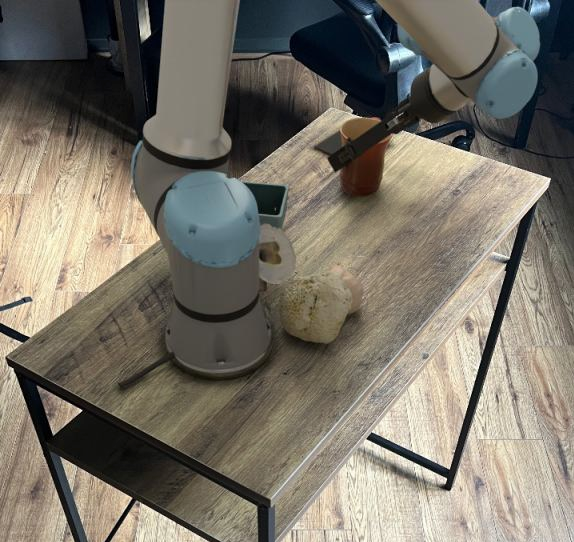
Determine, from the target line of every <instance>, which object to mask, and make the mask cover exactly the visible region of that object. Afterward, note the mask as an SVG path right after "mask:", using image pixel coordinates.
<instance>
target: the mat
mask: <svg viewBox="0 0 574 542" xmlns="http://www.w3.org/2000/svg"><path fill="white" fill-rule="evenodd" d="M389 146H390V143H389V144H388V147H389ZM313 148H314V149H316V150H318V151H320V152H322V153H324V154H326V155H329V156H330V155H332V154H333V153H335V152H336V151H338V150H339V149H340V148H342V139H341V134H340V129H339V130H338V131H336V132H335V133H333V134H332V135H330V136H328V137H327V138H325V139H323V140H322V141H320V142H319V143H318V144H316V145H315V146H313Z"/></svg>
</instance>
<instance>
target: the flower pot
mask: <svg viewBox="0 0 574 542" xmlns="http://www.w3.org/2000/svg"><path fill="white" fill-rule="evenodd" d="M240 181H241V182H242V183H243V184H245V185H246V186H247V187H248V188H249V190H250V191H251V192H252V194H253V196H254V198H255V200H256V203H257V208H258V214H259V218H260V219H259V221H260V226H261V225H263V224H265V223H266V224H270V225H271V226H272V227H276V229H278V228H280V229H281V230H282V231H283V228H284V223H285V218H286V213H287V207H288V206H287V205H288V199H289V190H290V187H289V185H287V184H280V183H266V182H256V181H255V182H254V181H245V180H240ZM275 208H276V211H275ZM273 238H274V237H273ZM274 239H275V238H274Z"/></svg>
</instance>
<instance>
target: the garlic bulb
mask: <svg viewBox="0 0 574 542" xmlns="http://www.w3.org/2000/svg"><path fill="white" fill-rule="evenodd" d="M328 271H331V272H334V273H337V274H339V275H340V276H341V277H342V279H343V281H344V283H345V285H346V287H347V288H349V290H350V292H351V293H352V304H351V310H350V312H349V313H348V314H353V313H355V312H357V311H358V310H359V309H360V308H361V306H362V303H363V296H364V287H363V285H362V282H361V281H360V280H359V279H358V278H357V277H356V276H354V275H353V274H351V273H350V272H349V271H348V270H347V269H345V268H344V267H343V265H342V262H341V261H340V262H337V264H336V265H332V266H331V267H329V269H328V270H327V272H328ZM348 314H347V315H348Z"/></svg>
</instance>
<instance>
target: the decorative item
mask: <svg viewBox="0 0 574 542" xmlns="http://www.w3.org/2000/svg"><path fill="white" fill-rule="evenodd" d="M351 304H352V293H351V292H350V290H349V288H347V287H346V285H345V283H344V281H343V279H342V277H341V276H340V275H339V274H337V273H334V272H331V271H328V270H327V271H324V272H321V273H314V274H308V275H307V276H296V277H294V278H293V279H292V280H289V282H288V283H287V284H286V285H284V287H283V289H282V290H281V293H280V296H279V302H278V311H279V316H280V321H281V324H282V326H283V328H284V330H285V331H286V333H288V334H289V335H291V336H293V337H296V338H298V339H300V340H302V341H305V342H313V343H319V344H330V343H332V342H333V341H334V340H336V338H337V337H338V336H339V333H340V331H341V328H342V326H343V324H344V322H345V320H346V317H347V315H348V313H349V312H350V310H351Z"/></svg>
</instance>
